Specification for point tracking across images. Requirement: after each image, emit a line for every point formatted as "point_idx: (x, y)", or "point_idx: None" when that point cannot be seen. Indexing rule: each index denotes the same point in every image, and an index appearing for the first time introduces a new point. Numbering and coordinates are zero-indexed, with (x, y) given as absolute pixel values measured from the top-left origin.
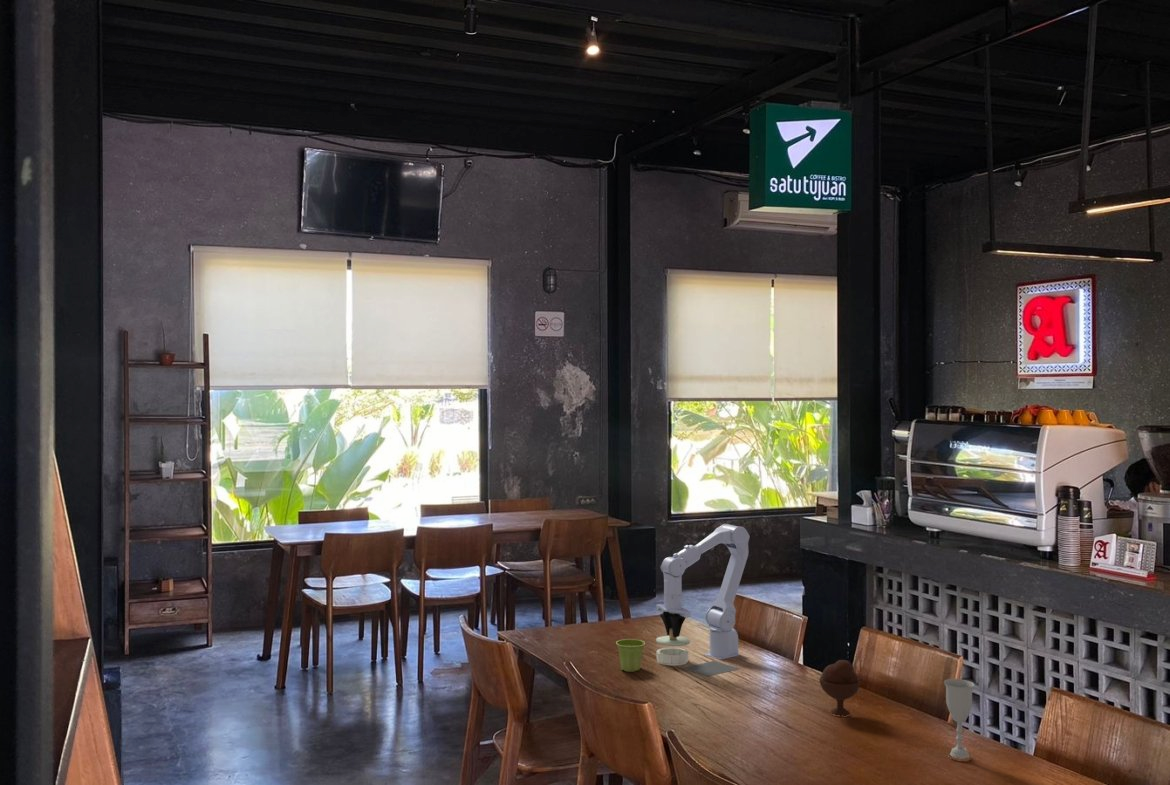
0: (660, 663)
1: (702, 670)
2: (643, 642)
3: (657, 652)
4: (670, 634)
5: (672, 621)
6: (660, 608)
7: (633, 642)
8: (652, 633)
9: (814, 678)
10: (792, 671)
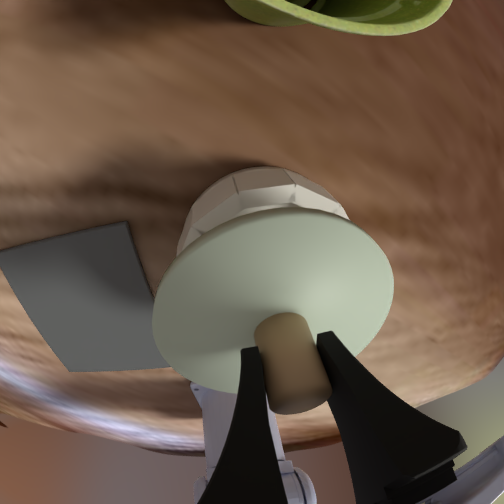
0: (259, 168)
1: (63, 279)
2: (289, 3)
3: (310, 190)
4: (289, 348)
5: (252, 476)
6: (494, 460)
7: (408, 13)
8: (488, 325)
9: (9, 407)
10: (52, 416)
